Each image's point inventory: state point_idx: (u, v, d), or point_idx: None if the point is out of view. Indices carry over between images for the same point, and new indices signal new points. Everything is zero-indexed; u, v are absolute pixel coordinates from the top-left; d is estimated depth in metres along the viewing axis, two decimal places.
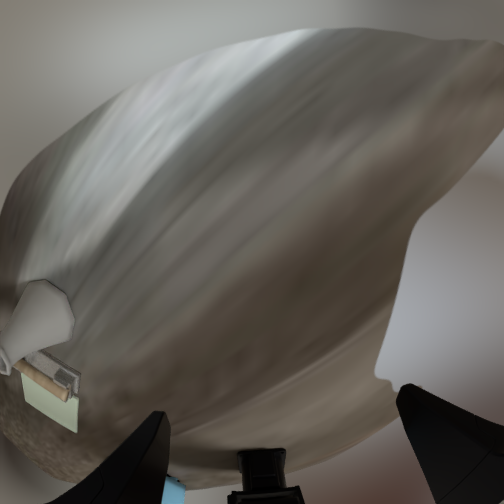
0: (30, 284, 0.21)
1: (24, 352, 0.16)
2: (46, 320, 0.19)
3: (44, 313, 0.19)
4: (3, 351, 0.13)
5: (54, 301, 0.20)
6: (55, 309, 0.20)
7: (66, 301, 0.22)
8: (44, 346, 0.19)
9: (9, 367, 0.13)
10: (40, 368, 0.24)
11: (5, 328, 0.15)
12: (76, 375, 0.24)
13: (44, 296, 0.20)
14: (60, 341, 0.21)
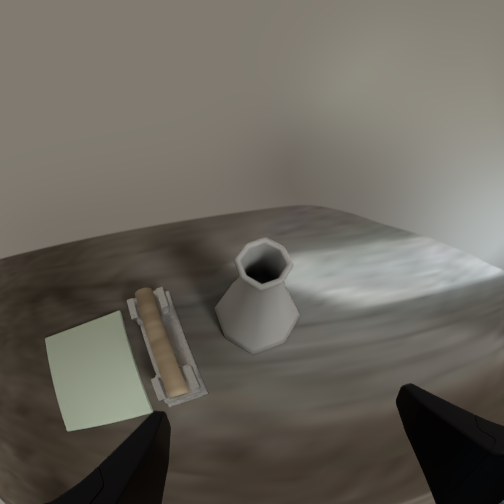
0: (264, 276, 0.25)
1: (267, 302, 0.17)
2: (287, 311, 0.21)
3: (291, 304, 0.21)
4: None
5: (295, 308, 0.23)
6: (293, 314, 0.22)
7: (295, 321, 0.23)
8: (259, 326, 0.19)
9: (276, 285, 0.15)
10: None
11: (266, 264, 0.19)
12: (205, 390, 0.20)
13: (288, 295, 0.23)
14: (257, 343, 0.21)
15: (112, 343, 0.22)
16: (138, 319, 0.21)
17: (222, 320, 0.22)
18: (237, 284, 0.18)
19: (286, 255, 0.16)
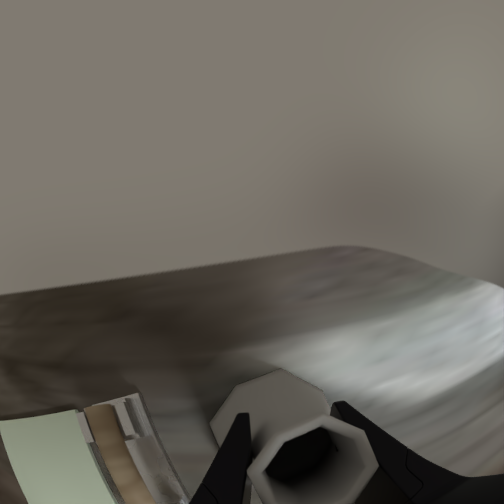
0: (287, 374, 0.15)
1: (306, 483, 0.07)
2: (328, 448, 0.10)
3: None
4: None
5: None
6: None
7: None
8: (284, 483, 0.09)
9: None
10: None
11: (307, 415, 0.08)
12: None
13: (327, 411, 0.12)
14: None
15: (72, 451, 0.11)
16: None
17: None
18: None
19: (367, 451, 0.05)
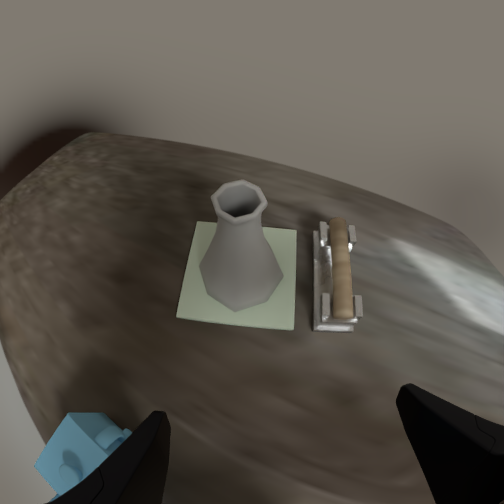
0: None
1: (244, 245, 0.18)
2: (268, 264, 0.21)
3: (272, 258, 0.22)
4: (265, 206, 0.16)
5: (277, 265, 0.23)
6: (275, 271, 0.22)
7: (278, 280, 0.24)
8: (238, 275, 0.20)
9: (249, 219, 0.15)
10: (318, 268, 0.25)
11: (246, 211, 0.19)
12: (352, 327, 0.22)
13: (272, 253, 0.23)
14: (237, 297, 0.21)
15: (279, 253, 0.26)
16: (324, 241, 0.24)
17: (205, 275, 0.23)
18: (216, 229, 0.19)
19: (261, 194, 0.16)
